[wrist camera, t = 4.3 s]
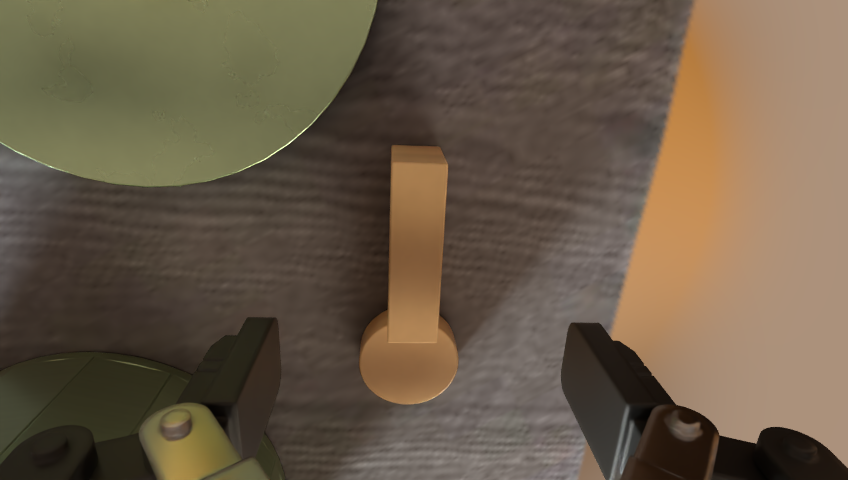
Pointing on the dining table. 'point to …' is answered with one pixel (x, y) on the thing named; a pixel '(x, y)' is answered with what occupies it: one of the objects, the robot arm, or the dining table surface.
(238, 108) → the lid
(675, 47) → the dining table surface
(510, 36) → the dining table surface
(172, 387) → the tin
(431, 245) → the spoon
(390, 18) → the dining table surface
